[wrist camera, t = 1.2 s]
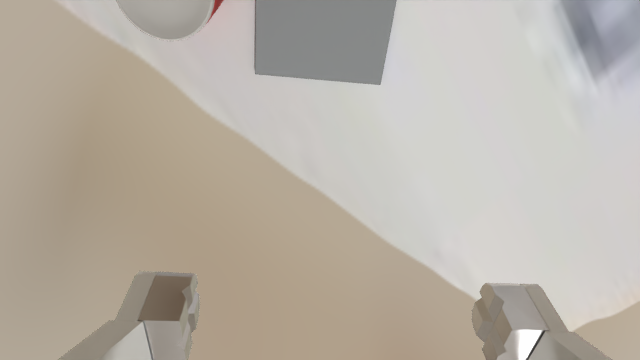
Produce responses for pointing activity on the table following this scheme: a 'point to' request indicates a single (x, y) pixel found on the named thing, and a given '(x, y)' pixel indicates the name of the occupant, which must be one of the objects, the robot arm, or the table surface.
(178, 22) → the canned food
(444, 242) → the table surface
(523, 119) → the table surface
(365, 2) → the mat
